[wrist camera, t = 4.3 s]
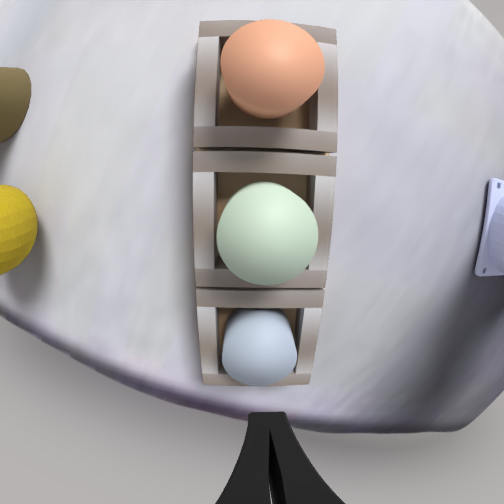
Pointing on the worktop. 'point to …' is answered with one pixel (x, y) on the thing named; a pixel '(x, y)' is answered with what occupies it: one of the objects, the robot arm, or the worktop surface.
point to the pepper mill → (13, 100)
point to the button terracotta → (271, 68)
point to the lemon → (15, 227)
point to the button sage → (266, 234)
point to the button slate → (258, 346)
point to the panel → (253, 170)
